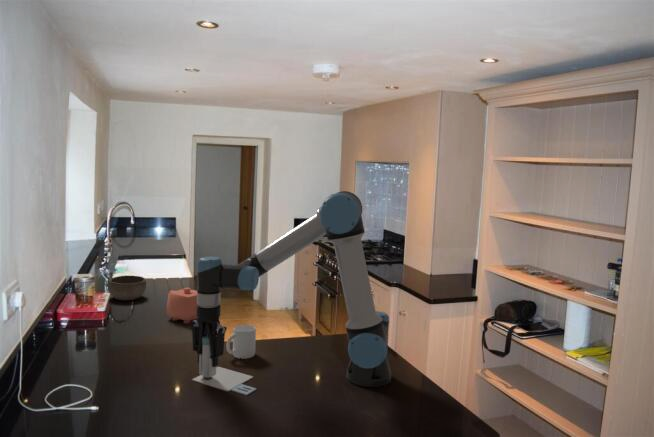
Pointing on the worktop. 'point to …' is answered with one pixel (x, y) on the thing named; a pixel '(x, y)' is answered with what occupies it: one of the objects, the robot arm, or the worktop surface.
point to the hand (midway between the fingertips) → (207, 374)
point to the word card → (243, 389)
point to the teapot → (182, 305)
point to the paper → (224, 379)
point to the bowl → (127, 287)
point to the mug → (242, 341)
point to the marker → (205, 357)
